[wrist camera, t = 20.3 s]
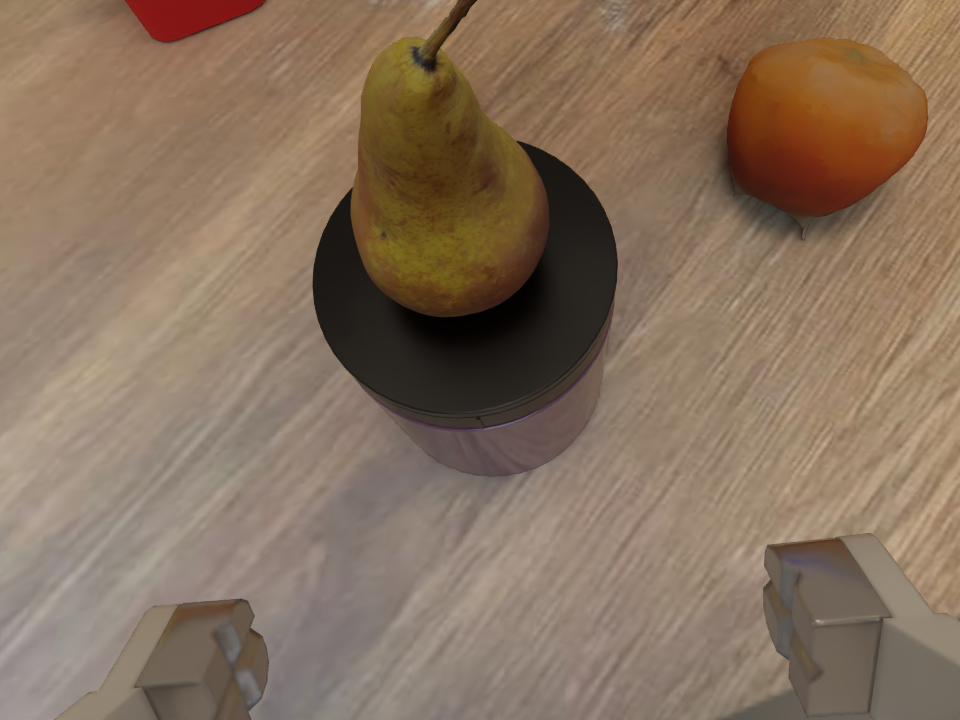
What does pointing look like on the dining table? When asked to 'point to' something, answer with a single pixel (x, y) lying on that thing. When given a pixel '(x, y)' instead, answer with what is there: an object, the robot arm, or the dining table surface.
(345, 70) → the dining table surface
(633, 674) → the dining table surface
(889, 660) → the robot arm
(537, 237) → the fruit
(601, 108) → the dining table surface
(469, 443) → the jar
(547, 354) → the jar lid
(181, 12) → the mug
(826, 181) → the fruit
